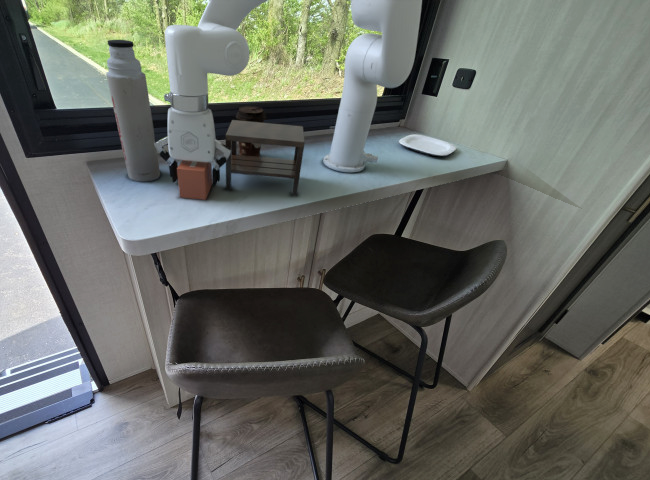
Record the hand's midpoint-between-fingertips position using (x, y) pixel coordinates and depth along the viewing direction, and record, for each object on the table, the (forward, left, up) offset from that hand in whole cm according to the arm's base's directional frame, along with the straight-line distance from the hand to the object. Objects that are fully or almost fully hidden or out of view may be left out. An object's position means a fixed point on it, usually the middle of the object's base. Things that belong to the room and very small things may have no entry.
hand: (195, 181), depth 79 cm
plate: (-73, -49, -2) cm, 88 cm away
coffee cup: (-11, -26, -3) cm, 28 cm away
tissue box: (0, 0, -2) cm, 2 cm away
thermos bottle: (+15, -6, -2) cm, 16 cm away
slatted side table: (-16, -8, -2) cm, 18 cm away
